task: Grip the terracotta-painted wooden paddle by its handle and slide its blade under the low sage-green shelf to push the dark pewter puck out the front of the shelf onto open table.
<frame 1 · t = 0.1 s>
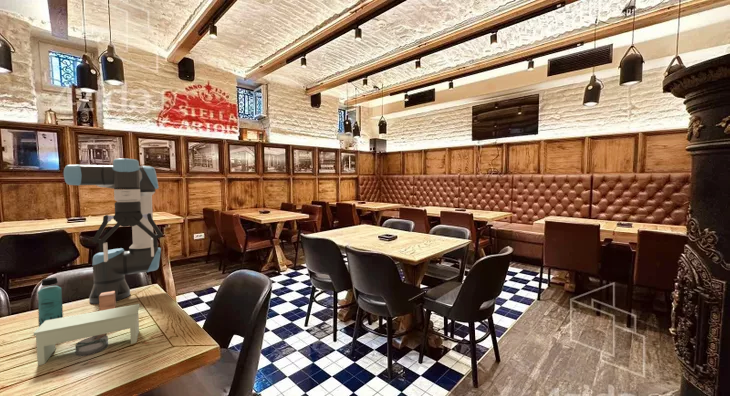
hand: (130, 258, 110), 28 cm above the table, fingers open, 13 cm apart
paddle: (108, 317, 124), on the table
shelf: (93, 346, 102), on the table
puck: (92, 349, 100), on the table
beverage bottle: (51, 330, 113), on the table
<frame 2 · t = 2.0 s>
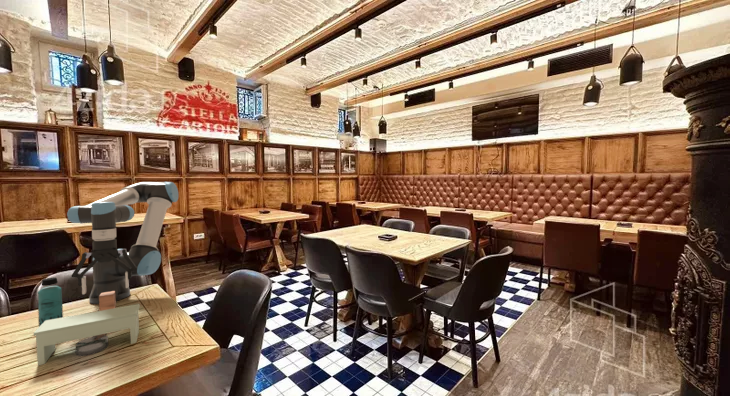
hand: (106, 290, 123), 11 cm above the table, fingers open, 13 cm apart
nothing on the table moved.
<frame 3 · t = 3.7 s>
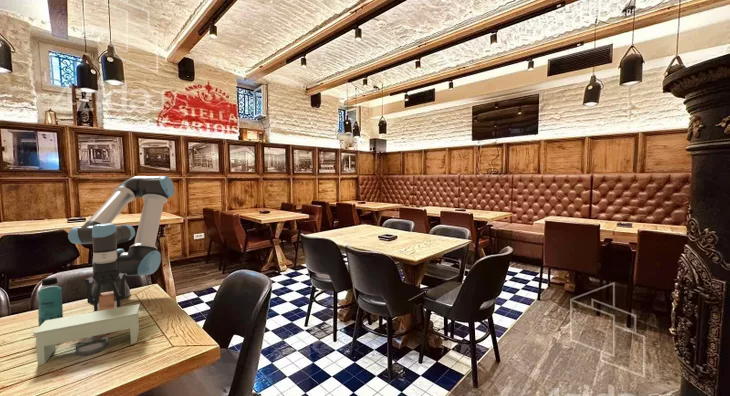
hand: (108, 316, 124), 0 cm above the table, fingers closed on paddle, 4 cm apart
paddle: (108, 317, 124), on the table, touching gripper
everything else where it was.
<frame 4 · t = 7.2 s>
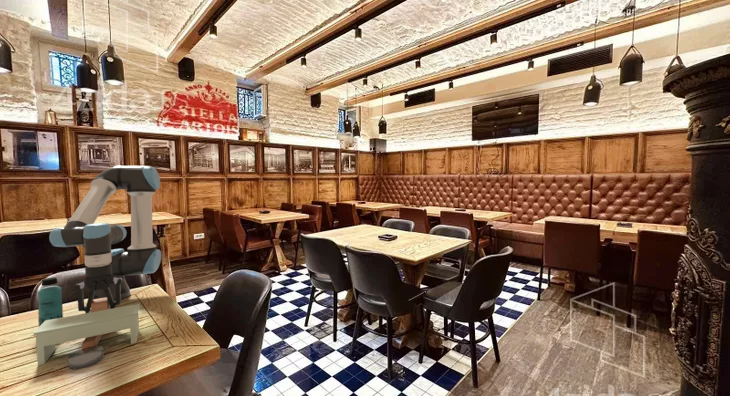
hand: (101, 325, 113), 2 cm above the table, fingers closed on paddle, 4 cm apart
paddle: (101, 325, 113), point 2 cm above the table, touching gripper
puck: (86, 362, 93), on the table
everything else where it was.
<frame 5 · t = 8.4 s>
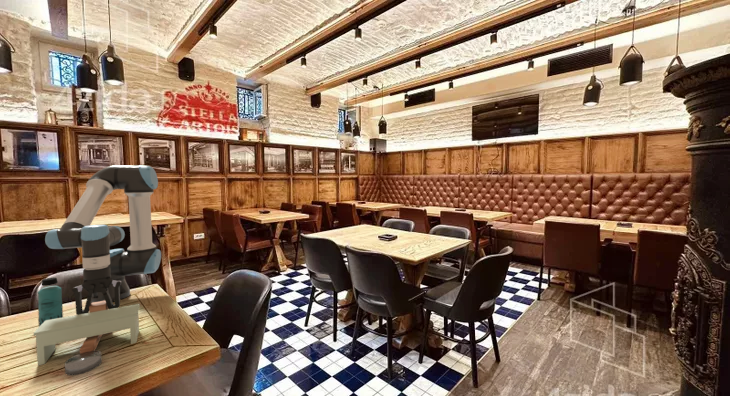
hand: (99, 329, 110), 2 cm above the table, fingers closed on paddle, 4 cm apart
paddle: (100, 329, 110), point 1 cm above the table, touching gripper
puck: (84, 367, 90), on the table
everything else where it was.
when the fingers open (0 cm above the table, at t = 10.3 s): paddle stays where it is, on the table.
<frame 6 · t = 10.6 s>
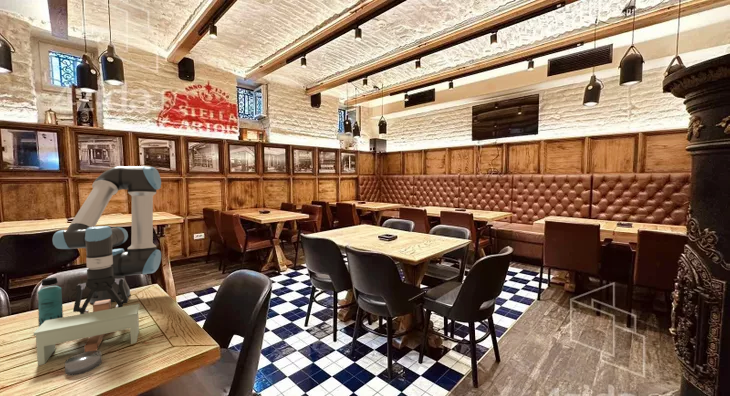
hand: (102, 324, 115), 1 cm above the table, fingers open, 8 cm apart
paddle: (103, 327, 115), on the table
everything else where it was.
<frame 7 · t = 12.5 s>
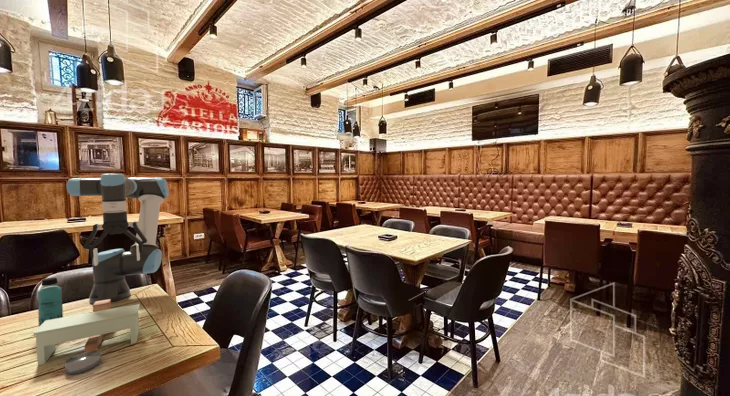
hand: (118, 262, 123), 23 cm above the table, fingers open, 13 cm apart
nothing on the table moved.
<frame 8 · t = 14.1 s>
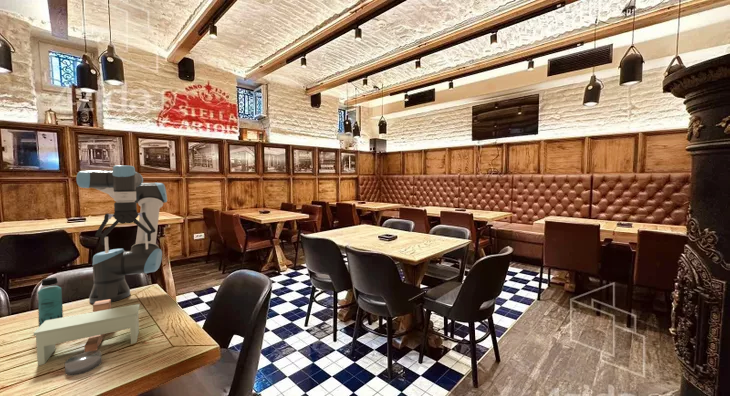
hand: (127, 250, 129), 27 cm above the table, fingers open, 13 cm apart
nothing on the table moved.
at the end: puck inside the target area (1.4 cm from its centre), on the table; the gripper is holding nothing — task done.
